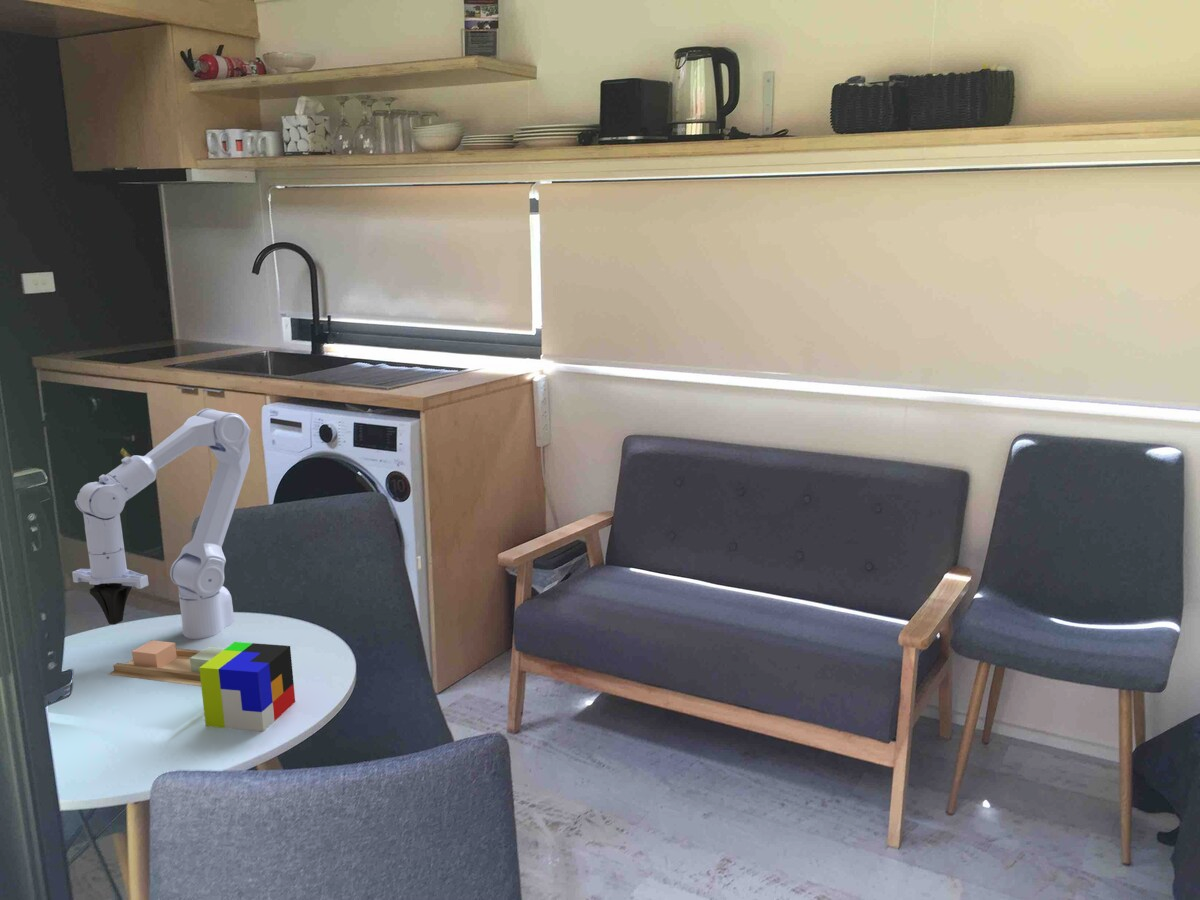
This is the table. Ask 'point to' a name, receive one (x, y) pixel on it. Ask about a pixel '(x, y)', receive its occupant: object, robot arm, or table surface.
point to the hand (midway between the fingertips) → (115, 622)
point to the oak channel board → (171, 667)
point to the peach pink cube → (154, 654)
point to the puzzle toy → (247, 686)
